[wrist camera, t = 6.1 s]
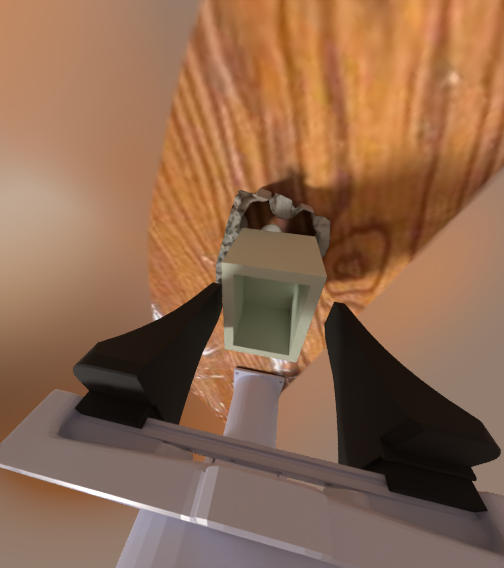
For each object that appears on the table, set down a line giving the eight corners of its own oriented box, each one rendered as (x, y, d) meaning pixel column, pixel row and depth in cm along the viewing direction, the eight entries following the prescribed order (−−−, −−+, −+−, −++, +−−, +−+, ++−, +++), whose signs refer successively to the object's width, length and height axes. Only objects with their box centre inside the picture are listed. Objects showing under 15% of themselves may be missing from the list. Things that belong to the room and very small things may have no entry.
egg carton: (248, 174, 14) (235, 181, 11) (335, 214, 15) (347, 231, 12) (216, 278, 21) (201, 302, 17) (278, 303, 21) (275, 331, 18)
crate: (295, 311, 17) (296, 362, 13) (240, 302, 17) (224, 348, 13) (315, 236, 13) (327, 277, 9) (242, 227, 13) (221, 262, 9)
